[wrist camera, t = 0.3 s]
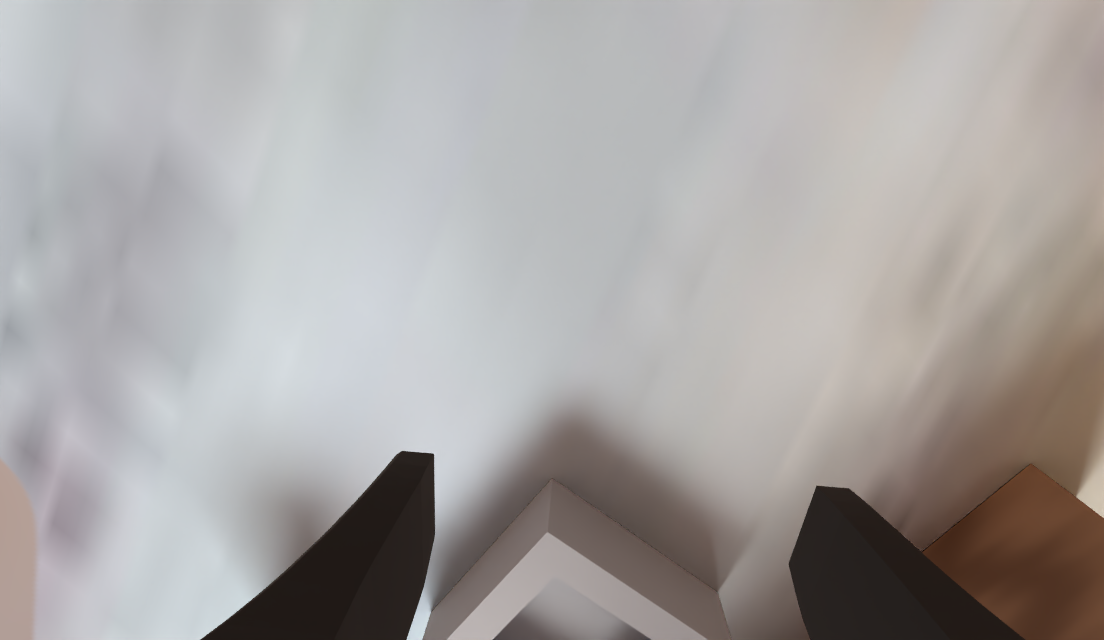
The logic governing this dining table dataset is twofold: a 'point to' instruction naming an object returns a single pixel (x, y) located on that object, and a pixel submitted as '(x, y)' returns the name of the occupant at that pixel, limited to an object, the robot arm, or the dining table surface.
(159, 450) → the dining table surface
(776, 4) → the dining table surface
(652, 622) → the socket block
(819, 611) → the robot arm
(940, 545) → the rail
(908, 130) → the dining table surface
